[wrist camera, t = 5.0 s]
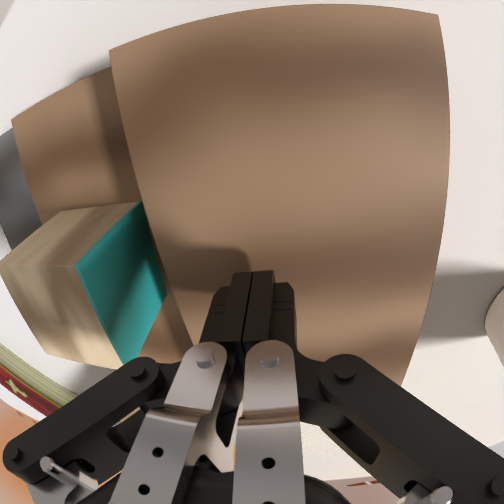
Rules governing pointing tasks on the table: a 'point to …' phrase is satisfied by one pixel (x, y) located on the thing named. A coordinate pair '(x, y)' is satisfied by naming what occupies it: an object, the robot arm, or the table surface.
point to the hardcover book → (31, 384)
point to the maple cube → (88, 283)
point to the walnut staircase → (262, 167)
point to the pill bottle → (496, 325)
